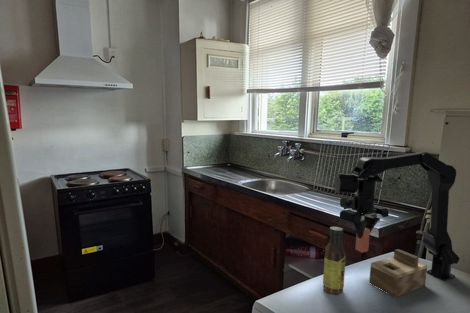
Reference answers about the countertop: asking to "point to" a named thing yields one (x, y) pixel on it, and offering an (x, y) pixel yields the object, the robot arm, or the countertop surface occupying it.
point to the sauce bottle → (334, 262)
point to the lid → (399, 264)
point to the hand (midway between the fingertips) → (362, 237)
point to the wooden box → (397, 281)
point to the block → (363, 241)
